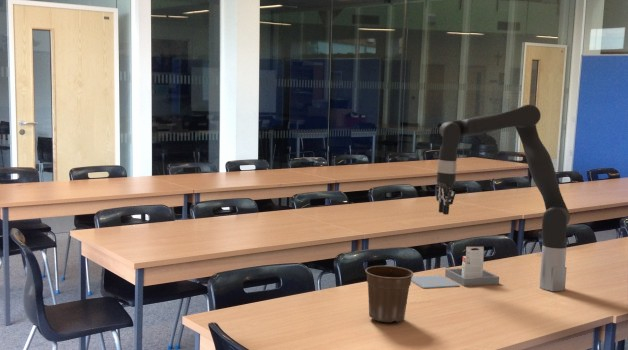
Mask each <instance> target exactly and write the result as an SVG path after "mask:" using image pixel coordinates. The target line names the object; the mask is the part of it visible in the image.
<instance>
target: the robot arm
mask: <svg viewBox="0 0 628 350" xmlns="http://www.w3.org/2000/svg"><path fill="white" fill-rule="evenodd" d="M540 120H541V111H540V109H539V108H538V107H537V106H536V105H534V104H523V105H522V106H519V107H517V108H514V109H512V110H508V111H504V112H499V113H493V114H487V115H480V116H475V117H470V118H467V119H466V118H465V119H458V120H450V121H446V122H443V123H442V124H441V126H439V134H440V136H441V137H442V142H441V146H440V148H439V155H438V162H437V170H436V171H437V173H436V182H437V183H438V184H439V185H438V186H435V198H436V201H437V202H438V213H442V215H445V216H446V215H449V214H450V206H451V205H453V203H454V201H455V197H456V191H453V185H454V184H456V179H457V178H456V177H457V160H458V148H459V143H460V140H461V137H466V136H467V137H469V136H472V137H473V136H477V135H482V134H487V133H491V132H494V131H499V130H502V129H505V128H512V127H515V129H516V132H517V134H518V137H519V138H520V142H521V144H522V147H523V148H522V149H523V151H524V155H525V159H526V162H527V166H528V169H529V172H530V175H531V178H532V180H533V183H534V184H535V186H536V187H537V189H538V191H539V192H540V194H541V196H542V199H543V203H544V207H545V212H544V213H543V214H542V215H543V216H542V222H541V224H542V225H541V239H542V241H541V242H542V243H541V244H542V246H541V257H540V258H541V259H540V275H539V276H540V277H539V288H540V289H542V290H545V291H546V290H547V291H551V292H559V291H560V292H561V291H562V292H563V291H566V283H567V282H566V280H567V267H566V262H567V261H566V259H567V247H568V242H567V227H568V226H567V225H568V224H569V223H570V221H571V220H570V219H571V215H570V212H569V209H568V207H567V204H566V202H565V201H564V197H563V195H562V192H561V190H560V185H559V180H558V177H557V174H556V171H555V167H554V163H553V160H552V158H551V155H550V153H549V151H548V150H547V148H546V147H545V144H543V142H542V141H541V139H540V137H539V136H540V135H539V133H538V130H537V124H539V121H540Z"/></svg>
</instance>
